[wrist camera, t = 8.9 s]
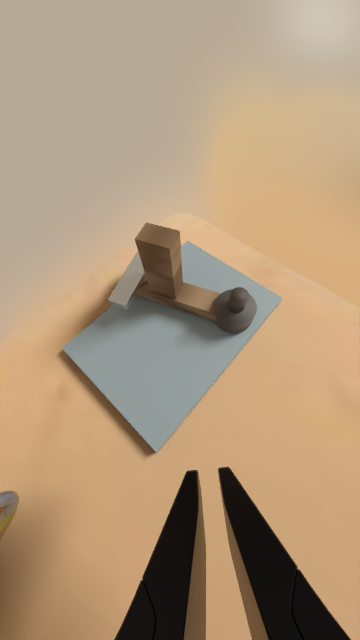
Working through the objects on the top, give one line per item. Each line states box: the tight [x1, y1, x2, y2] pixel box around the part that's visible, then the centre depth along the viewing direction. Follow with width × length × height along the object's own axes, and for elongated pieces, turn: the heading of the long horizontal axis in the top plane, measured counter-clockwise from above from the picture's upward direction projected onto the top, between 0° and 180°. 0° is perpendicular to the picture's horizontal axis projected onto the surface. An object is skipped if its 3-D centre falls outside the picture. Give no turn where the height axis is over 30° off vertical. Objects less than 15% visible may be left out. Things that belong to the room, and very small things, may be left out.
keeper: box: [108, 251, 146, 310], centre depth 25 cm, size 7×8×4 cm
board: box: [62, 241, 282, 453], centre depth 25 cm, size 20×14×1 cm
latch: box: [135, 223, 257, 333], centre depth 21 cm, size 14×4×8 cm, turn 68°
